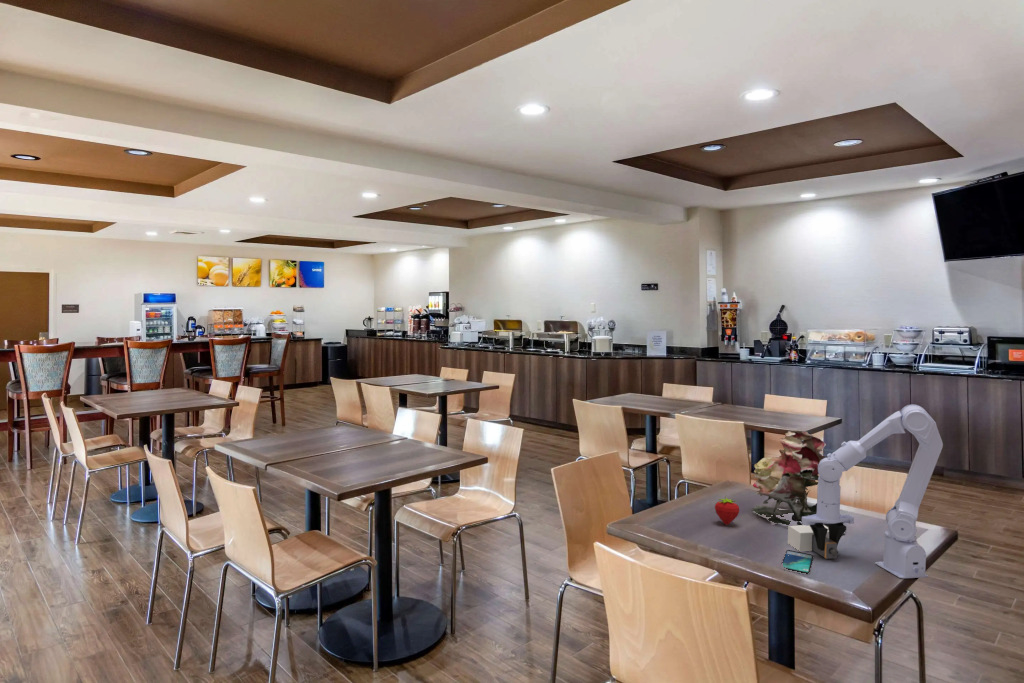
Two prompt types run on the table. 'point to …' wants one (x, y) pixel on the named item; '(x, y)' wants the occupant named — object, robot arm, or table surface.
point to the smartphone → (798, 561)
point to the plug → (826, 548)
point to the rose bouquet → (789, 476)
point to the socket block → (801, 537)
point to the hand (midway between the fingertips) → (826, 549)
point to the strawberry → (727, 510)
